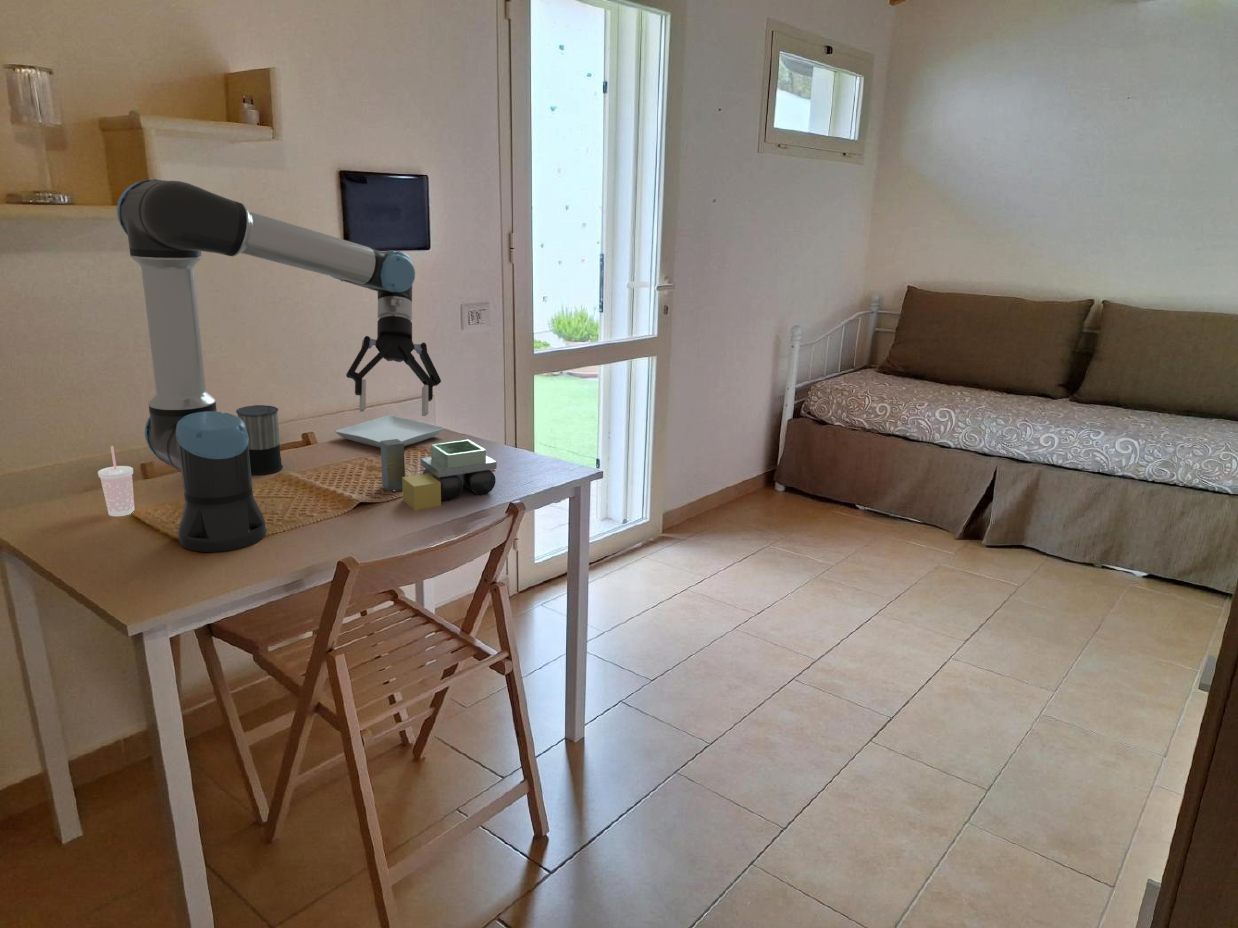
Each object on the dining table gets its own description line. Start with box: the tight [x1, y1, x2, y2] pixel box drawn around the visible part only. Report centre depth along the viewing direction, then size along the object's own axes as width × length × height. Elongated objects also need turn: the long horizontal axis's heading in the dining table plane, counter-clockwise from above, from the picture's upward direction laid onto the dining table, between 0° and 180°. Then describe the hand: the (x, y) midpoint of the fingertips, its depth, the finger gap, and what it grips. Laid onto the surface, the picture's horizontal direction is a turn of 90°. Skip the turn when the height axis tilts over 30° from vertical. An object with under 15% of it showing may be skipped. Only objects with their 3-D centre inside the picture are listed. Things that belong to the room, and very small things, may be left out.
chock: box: [402, 473, 442, 511], centre depth 180 cm, size 6×7×6 cm
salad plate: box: [335, 414, 445, 449], centre depth 226 cm, size 21×21×3 cm
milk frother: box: [235, 404, 284, 476], centre depth 193 cm, size 14×16×15 cm
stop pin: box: [380, 439, 406, 492], centre depth 187 cm, size 4×4×11 cm
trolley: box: [420, 439, 498, 502], centre depth 187 cm, size 14×10×11 cm
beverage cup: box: [97, 445, 135, 517], centre depth 166 cm, size 6×6×14 cm
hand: (394, 412), depth 181 cm, fingers open, 13 cm apart
